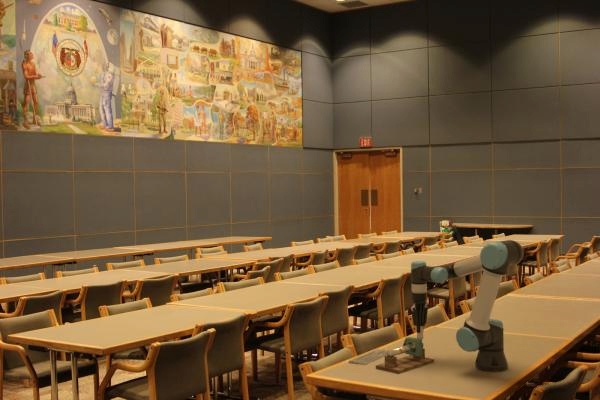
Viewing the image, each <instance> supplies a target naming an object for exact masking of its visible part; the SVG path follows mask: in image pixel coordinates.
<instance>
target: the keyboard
mask: <svg viewBox="0 0 600 400" xmlns="http://www.w3.org/2000/svg"><path fill="white" fill-rule="evenodd" d="M387 351H388V350H386V349H380V348H375V349H372V350H370V351H368V352H366V353H363V354H361V355H359V356H356V357H353V358H351V359H349V360H348V363H349V364H355V365H360V366H361V365H362V366H367V365H370V364H371V363H374V362H376V361H378V360H380V359H382V358H383V359H384V358H385V356H387Z"/></svg>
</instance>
